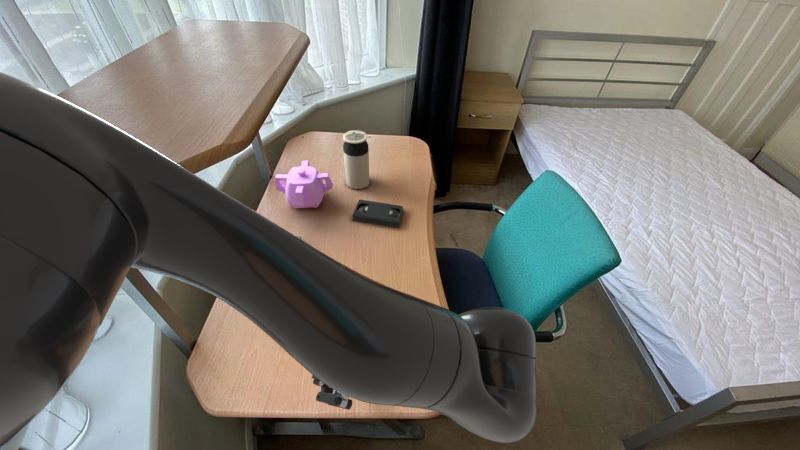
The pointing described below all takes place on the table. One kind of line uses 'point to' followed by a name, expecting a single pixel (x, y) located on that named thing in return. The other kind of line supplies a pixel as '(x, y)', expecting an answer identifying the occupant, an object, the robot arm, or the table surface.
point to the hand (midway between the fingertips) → (328, 350)
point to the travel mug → (356, 159)
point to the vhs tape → (378, 213)
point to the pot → (303, 186)
